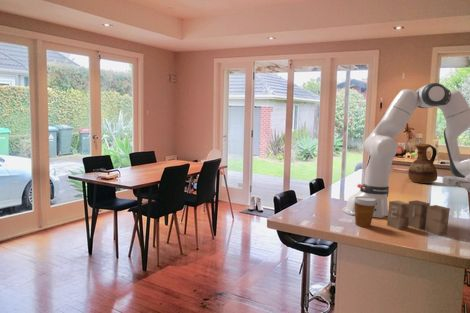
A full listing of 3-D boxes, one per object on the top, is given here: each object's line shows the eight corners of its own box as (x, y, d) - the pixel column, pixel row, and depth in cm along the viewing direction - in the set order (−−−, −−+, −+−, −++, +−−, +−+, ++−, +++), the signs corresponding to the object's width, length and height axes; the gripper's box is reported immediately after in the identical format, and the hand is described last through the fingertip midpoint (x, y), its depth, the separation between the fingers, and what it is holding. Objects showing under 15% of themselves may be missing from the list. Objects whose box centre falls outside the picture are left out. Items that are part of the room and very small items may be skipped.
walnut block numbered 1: (414, 223, 171) (417, 200, 170) (426, 227, 166) (429, 203, 165) (406, 225, 168) (408, 201, 167) (418, 229, 163) (420, 204, 162)
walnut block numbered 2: (395, 224, 169) (398, 200, 168) (407, 228, 164) (410, 203, 163) (386, 225, 166) (388, 201, 165) (398, 229, 161) (400, 204, 160)
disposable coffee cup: (350, 226, 162) (353, 199, 161) (352, 220, 171) (354, 195, 170) (374, 229, 159) (376, 202, 158) (374, 223, 168) (376, 197, 167)
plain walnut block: (433, 229, 164) (436, 205, 162) (446, 233, 159) (449, 208, 157) (424, 231, 161) (427, 206, 159) (438, 235, 156) (441, 209, 154)
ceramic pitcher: (402, 179, 297) (406, 142, 294) (426, 180, 299) (430, 143, 296) (417, 184, 278) (421, 144, 274) (442, 185, 280) (446, 145, 277)
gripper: (452, 172, 179) (435, 173, 172) (500, 180, 161) (482, 181, 154) (451, 185, 180) (434, 187, 173) (498, 194, 162) (481, 196, 155)
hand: (457, 184), depth 163 cm, fingers closed
